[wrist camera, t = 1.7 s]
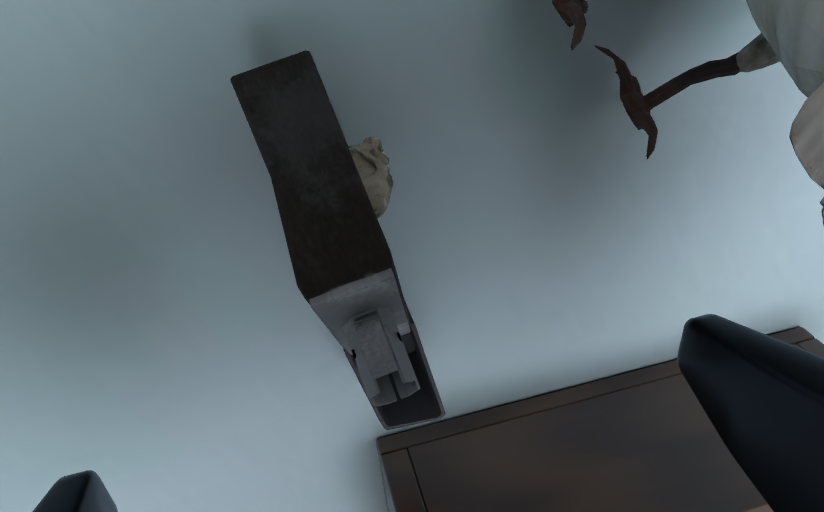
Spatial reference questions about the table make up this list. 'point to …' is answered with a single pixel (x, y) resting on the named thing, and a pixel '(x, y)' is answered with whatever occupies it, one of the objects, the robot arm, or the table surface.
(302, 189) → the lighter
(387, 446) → the caddy
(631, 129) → the table surface
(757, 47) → the decorative bird
